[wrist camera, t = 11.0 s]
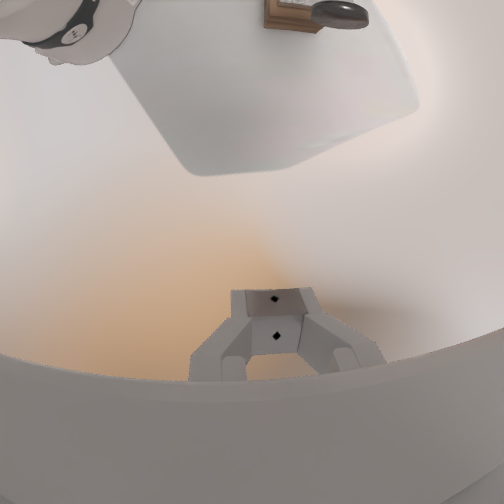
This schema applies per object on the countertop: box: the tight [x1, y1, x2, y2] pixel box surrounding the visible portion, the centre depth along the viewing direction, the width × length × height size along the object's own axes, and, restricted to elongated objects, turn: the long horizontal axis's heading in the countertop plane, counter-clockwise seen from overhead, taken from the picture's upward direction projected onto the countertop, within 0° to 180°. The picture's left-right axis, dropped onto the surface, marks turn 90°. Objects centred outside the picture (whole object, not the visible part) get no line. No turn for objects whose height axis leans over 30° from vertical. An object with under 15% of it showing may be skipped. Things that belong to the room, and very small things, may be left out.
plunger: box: [278, 0, 369, 29], centre depth 21 cm, size 11×8×20 cm
